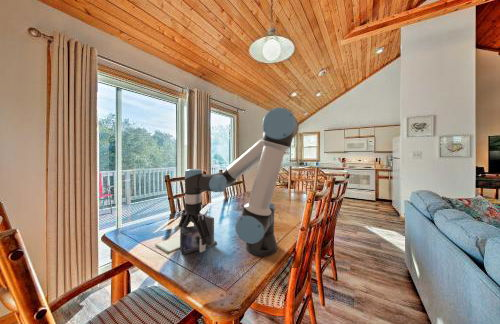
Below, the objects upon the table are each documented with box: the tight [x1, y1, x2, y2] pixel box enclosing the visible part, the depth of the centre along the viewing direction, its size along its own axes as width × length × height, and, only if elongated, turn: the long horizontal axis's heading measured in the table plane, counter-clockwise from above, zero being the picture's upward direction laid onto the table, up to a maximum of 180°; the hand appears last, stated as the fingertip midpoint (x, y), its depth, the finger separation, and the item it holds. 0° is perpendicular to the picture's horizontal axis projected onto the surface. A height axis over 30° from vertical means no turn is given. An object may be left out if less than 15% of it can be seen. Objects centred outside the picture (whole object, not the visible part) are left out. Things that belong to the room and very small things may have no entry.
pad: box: [154, 235, 180, 254], centre depth 99 cm, size 11×17×1 cm, turn 142°
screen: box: [193, 212, 218, 249], centre depth 101 cm, size 14×6×14 cm, turn 52°
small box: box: [179, 225, 201, 256], centre depth 93 cm, size 11×6×10 cm, turn 119°
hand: (193, 246), depth 93 cm, fingers open, 13 cm apart
